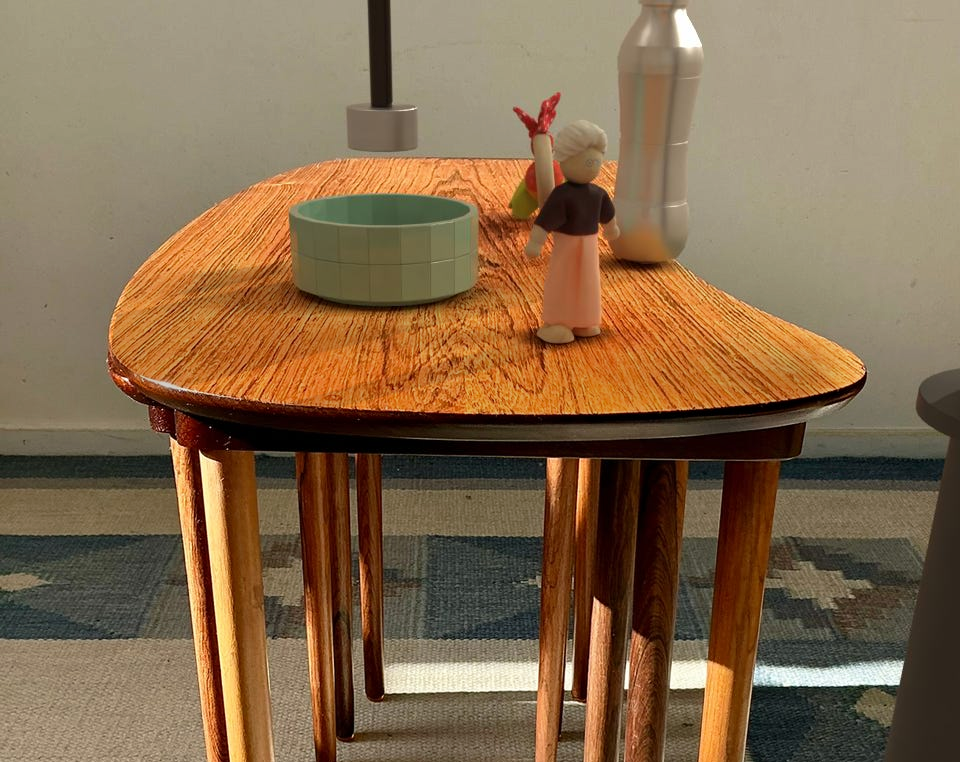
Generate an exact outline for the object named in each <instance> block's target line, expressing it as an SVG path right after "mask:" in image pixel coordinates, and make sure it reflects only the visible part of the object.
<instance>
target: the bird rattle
mask: <svg viewBox="0 0 960 762" xmlns="http://www.w3.org/2000/svg"><path fill="white" fill-rule="evenodd" d="M562 97H563V95H562V93H561V92H560V91H558V92H556V93H554V94H553V95H551V96H550V97H548V99H545V100H543V101H542V102H541V106H540V108H539V112H538V116H537V120H536V119H535V118H534V117H533V116H531V115H530V114H528V113H527V112H525V111H524V110H523V109H522V108H520V107H517V106H513V107H512V111H513V113H515V114H516V115H517V117H518V119H519V121H521V122H522V124H524V126H525V128H526V130H527V131H528V138H529V139H530V151H531V153H532V156H533V158H534V159H533V162H532V163H531V164H530V165H529V166H528V167H527V169H526V171H525V175H524V177H523V178H522V180H521V182H519V184H518V186H517V187H516V189H515V191H514V193H513V195H512V197H511V199H510V201H509V203H508V206H507V207H508V209H510V210H511V212H512V216H513V217H514V218H515V220H519V221H525V220H527V219H528V218H530V216H531V215H532V214H534V213H535V212H536V211H537V210H538V211H539V212H540V211H541V209H542V207H543V206H544V204H545V202H546V200H547V199H548V197H549V195H550V194H551V192H552V191H553V189H554V188H555V186H558V185H560V184H562V183H564V182H566V181H567V179H566V178H565V177H564V176H563V174H562V172H561V170H560V165H559V162H557V161H556V160H555V159H554V158H553V154H554V152H555V151H554V150H553V143H554V141H555V139H554V136H553V134H552V133H551V132H550V131H549V128H550V127H551V125H552V124H553V122H554V120H555V118H556V116H557V110H556V107H557V106H558V104H559V102H560V101H561V98H562ZM539 212H538V213H539Z"/></svg>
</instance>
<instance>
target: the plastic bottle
mask: <svg viewBox="0 0 960 762" xmlns="http://www.w3.org/2000/svg"><path fill="white" fill-rule="evenodd" d="M637 4H638V5H641V10H640V14H639V16H638V17H637V18H636V20H635V21H634V22H633V24H632V26H631V27H630V28H629V30H628V31H627V33H626V35H625V37H624V38H623V40H622V42H621V43H620V47H619V50H618V53H617V55H616V56H617V58H616V62H617V64H616V68H617V72H618V74H617V85H618V99H619V100H618V101H619V133H620V138H619V150H618V151H619V152H618V159H617V166H616V167H617V168H616V175H615V182H614V189H613V198H612V199H611V201H612V203H613V205H614V208H615V217H616V225H617V227H618V228H619V231H620V234H619V237H618V238H617V239H616V240H613V241H608V240H607V244H608V247H609V248H610V250H611V252H612V255H614V256H615V257H617V258H620V259H624V260H628V261H630V262H635V263H639V264H645V265H646V264H647V265H648V264H653V263H654V264H655V263H661V262H665V261H671V260H675V259H677V258H678V257H680V255H681V254H682V252H683V251H684V249H685V248H686V244H687V241H688V236H689V233H690V232H689V231H690V209H689V202H688V199H687V197H688V155H689V153H688V152H689V146H690V140H689V139H690V135H691V132H692V124H693V115H694V109H695V105H696V101H697V96H698V92H699V86H700V82H701V77H702V76H701V73H702V72H703V66H704V60H705V56H704V51H703V44H702V42H701V40H700V37H699V36H698V34H697V31H696V29H695V27H694V25H693V24H692V22H691V20H690V19H689V16H688V15H687V14H688V13H687V6H688V5H691V4H692V0H637Z"/></svg>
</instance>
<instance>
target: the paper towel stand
mask: <svg viewBox="0 0 960 762" xmlns="http://www.w3.org/2000/svg"><path fill="white" fill-rule="evenodd" d="M366 4H367V30H368V31H367V32H368V34H367V35H368V65H369V67H368V68H369V95H370V96H369V98H370V99H369V101H370V102H364V103H353V104H348V105H347V106H345V109H346V110H345V113H346V115H345V116H346V137H347V138H346V139H347V148H348V149H350V150H354V151H358V152H366V153H367V152H369V153H396V152H397V153H398V152H399V153H400V152H406V151H407V152H408V151H413V150H416V149H418V147H419V131H418V130H419V128H418V118H419V117H418V106H417V105H414V104H410V103H400V102H394V97H393V96H394V95H393V91H394V90H393V51H392V48H393V47H392V12H391V11H392V9H391V8H392V7H391V0H367V3H366Z"/></svg>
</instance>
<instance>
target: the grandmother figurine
mask: <svg viewBox="0 0 960 762" xmlns="http://www.w3.org/2000/svg"><path fill="white" fill-rule="evenodd" d="M608 144H609V140H608V136H607V134H606V133H605V130H604V129H602V128H600V127H599V126H598V125H597V124H595V123H593V122H590V121H588V120H587V119H579V120H575V121H574V122H571V123H568V124H567V125H566V126H564V127H563V128H562V129H561V130H559V131H557V133H556V137H555V139H554V143H553V150H554V151H553V160H554V161H556V162H557V163H558V164H559V165H560V170H561V172H562V174H563V176H564V177H565V178H566V179H567V181H566V182H564V183H562V184H560V185H558V186H555V188H554V189H553V191H552V192H551V194H550V195H549V197H548V199H547V200H546V202H545V204H544V206H543V207H542V209H541V211H540V212H538V215H537V216H536V217H535V220H534V222H533V226H532V229H531V232H530V234H529V241H528V242H527V243H526V245H525V246H524V254H525V256H526V257H527V258H529V259H537V258H539V257H540V256H541V253H542V251H543V246H544V245H545V244H546V242H547V240H548V238H549V235H550V234H551V233H552V243H553V244H552V248H551V251H550V257H549V260H548V266H547V270H546V274H545V277H544V283H543V295H542V309H541V317H540V319H541V322H543V323H544V324H543V325H541V326H540V327H539V328H538V330H537V332H536V337H538V338H539V339H541V340H542V341H544V342H547V343H551V344H566V343H572V342H573V341H575V336H577V337H584V338H585V337H586V338H587V337H593V336H597V335H600V334H601V328H600V325H602V315H603V314H602V310H603V308H602V306H603V305H602V287H601V285H602V284H601V274H600V254H599V241H598V238H599V237H598V235H599V230H600V229H599V228H600V227H601V229H602V234H603V238H604V239H605V240H606V241H607V242H608V241H613V240H616V239H617V238H618V237H619V234H620V231H619V228H618V227H617V225H616V217H615V208H614V205H613V203H612V199H611V197H610V195H609V193H608V191H607V190H606V189H605V188H604V187H601V186H599V185H598V184H596V183H593V181H594V180H595V179H597V177H599V174H600V172H601V171H602V167H603V158H604V157H605V154H606V153H607V151H608ZM599 225H600V227H599Z"/></svg>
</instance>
